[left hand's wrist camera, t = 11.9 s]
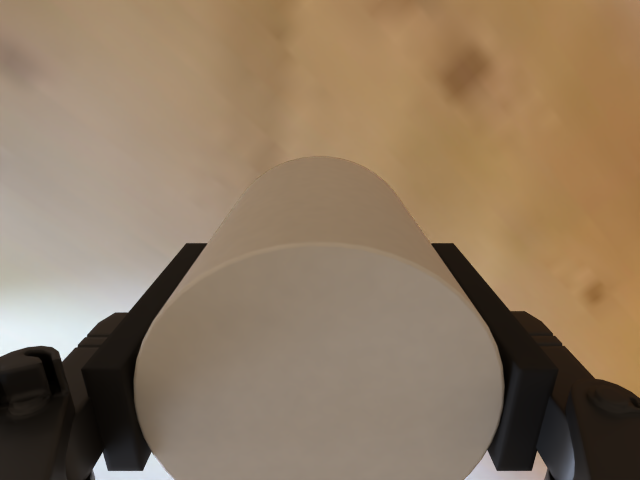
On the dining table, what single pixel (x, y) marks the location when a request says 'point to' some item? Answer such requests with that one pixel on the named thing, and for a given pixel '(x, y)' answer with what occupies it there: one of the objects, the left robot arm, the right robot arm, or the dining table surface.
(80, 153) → the dining table surface
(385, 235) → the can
